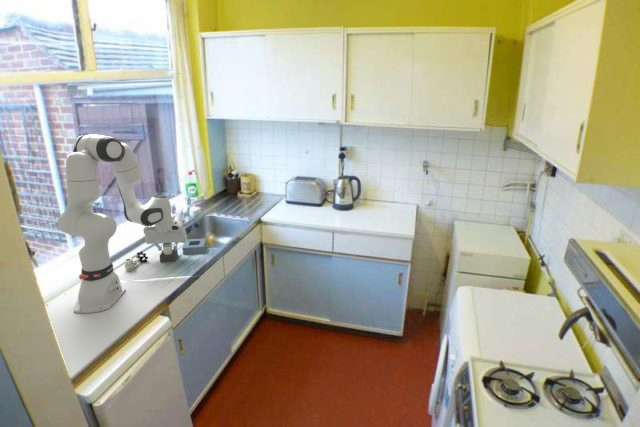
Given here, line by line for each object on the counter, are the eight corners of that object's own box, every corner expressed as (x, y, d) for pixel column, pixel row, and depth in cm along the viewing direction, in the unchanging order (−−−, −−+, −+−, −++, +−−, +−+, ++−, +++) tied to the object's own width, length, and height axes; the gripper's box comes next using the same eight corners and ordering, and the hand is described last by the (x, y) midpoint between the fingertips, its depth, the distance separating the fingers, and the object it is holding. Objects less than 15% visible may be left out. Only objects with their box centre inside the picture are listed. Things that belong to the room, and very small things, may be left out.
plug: (172, 259, 203) (169, 244, 200) (165, 260, 203) (162, 244, 200) (173, 256, 207) (171, 241, 204) (166, 257, 206) (164, 241, 203)
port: (204, 254, 211) (203, 246, 209) (183, 256, 209) (182, 247, 208) (206, 246, 221) (205, 237, 219) (186, 247, 220) (185, 239, 218)
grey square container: (175, 262, 202) (174, 255, 201) (160, 264, 201) (159, 256, 200) (178, 256, 209) (177, 249, 208) (163, 257, 208) (162, 249, 207)
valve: (133, 274, 191) (149, 263, 202) (130, 262, 189) (147, 251, 200) (122, 272, 193) (138, 261, 204) (119, 260, 191) (136, 250, 202)
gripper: (141, 229, 194) (145, 253, 199) (183, 226, 197) (186, 251, 202) (144, 224, 200) (148, 248, 205) (185, 222, 203) (188, 246, 207)
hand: (167, 249), depth 203 cm, fingers open, 6 cm apart
